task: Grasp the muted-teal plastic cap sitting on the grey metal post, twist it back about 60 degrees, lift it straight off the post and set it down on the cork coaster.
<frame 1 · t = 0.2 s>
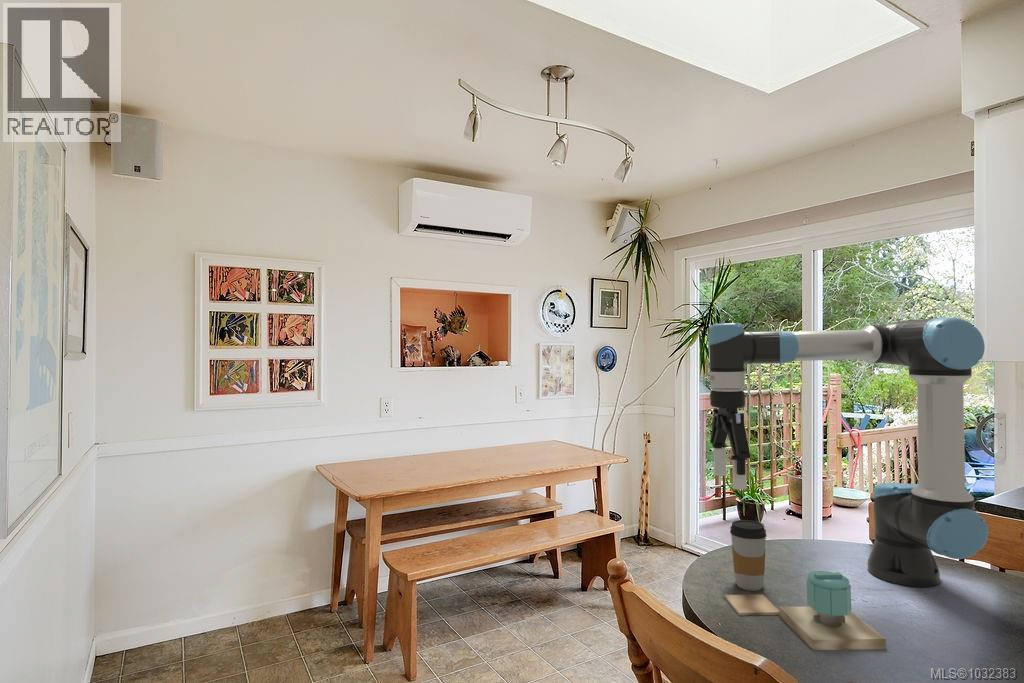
hand: (729, 481, 131), 28 cm above the table, fingers open, 13 cm apart
coaster: (751, 605, 128), on the table
coffee cup: (749, 586, 139), on the table
post base: (829, 631, 116), on the table
cap: (828, 607, 116), point 5 cm above the table, touching post base
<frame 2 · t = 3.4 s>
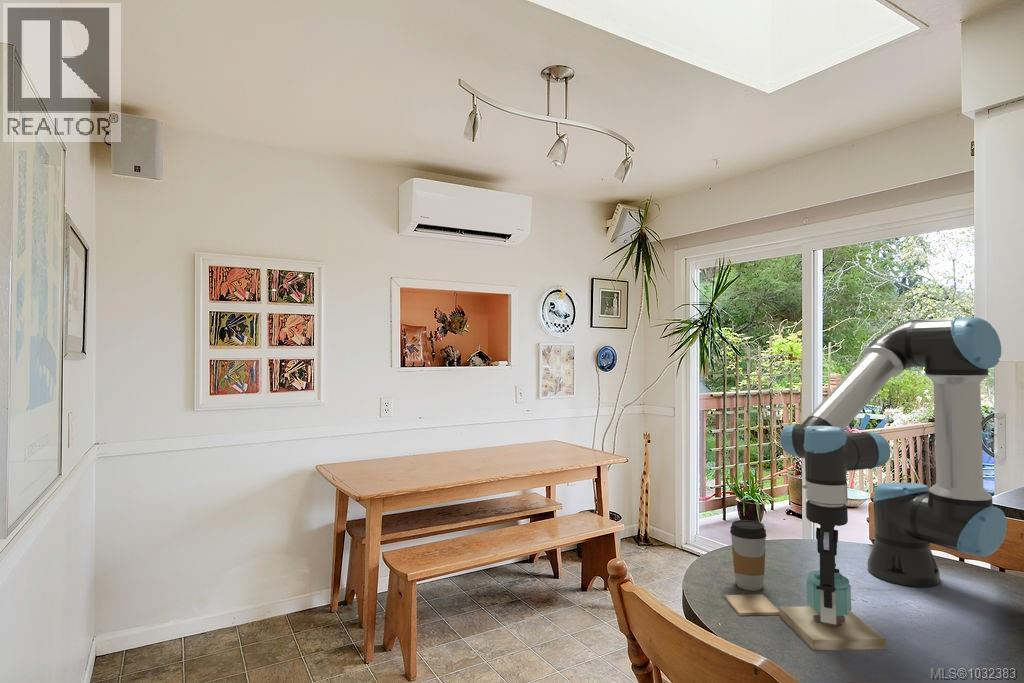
hand: (829, 613, 116), 4 cm above the table, fingers closed on cap, 8 cm apart
cap: (828, 607, 116), point 5 cm above the table, touching gripper, post base
everything else where it was.
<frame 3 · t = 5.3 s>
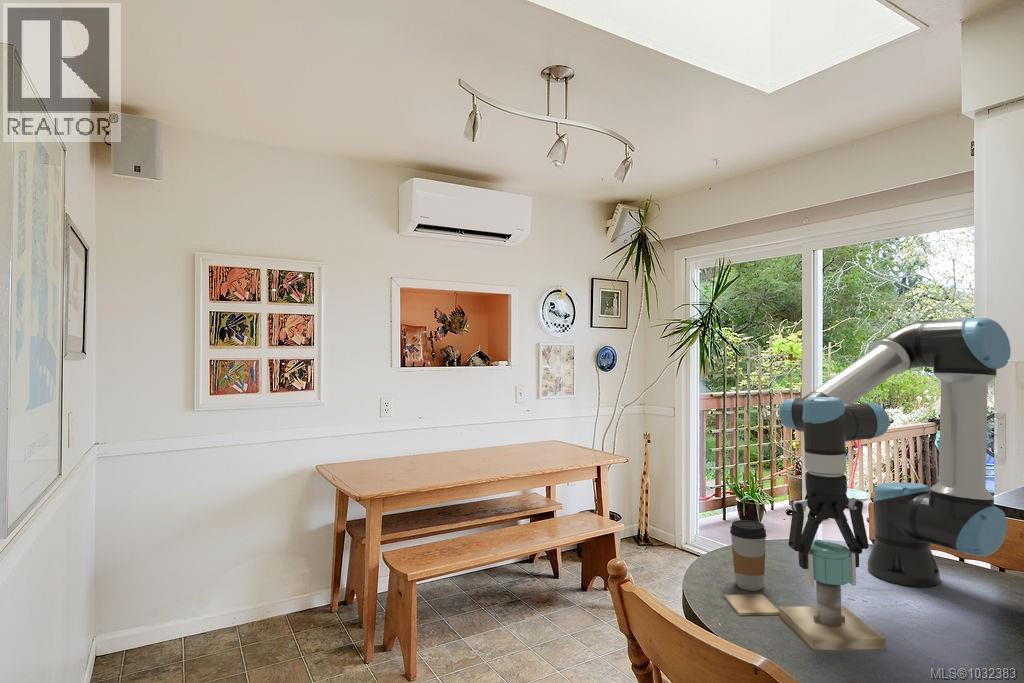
hand: (829, 583, 117), 10 cm above the table, fingers closed on cap, 8 cm apart
cap: (829, 577, 117), point 11 cm above the table, touching gripper
everything else where it was.
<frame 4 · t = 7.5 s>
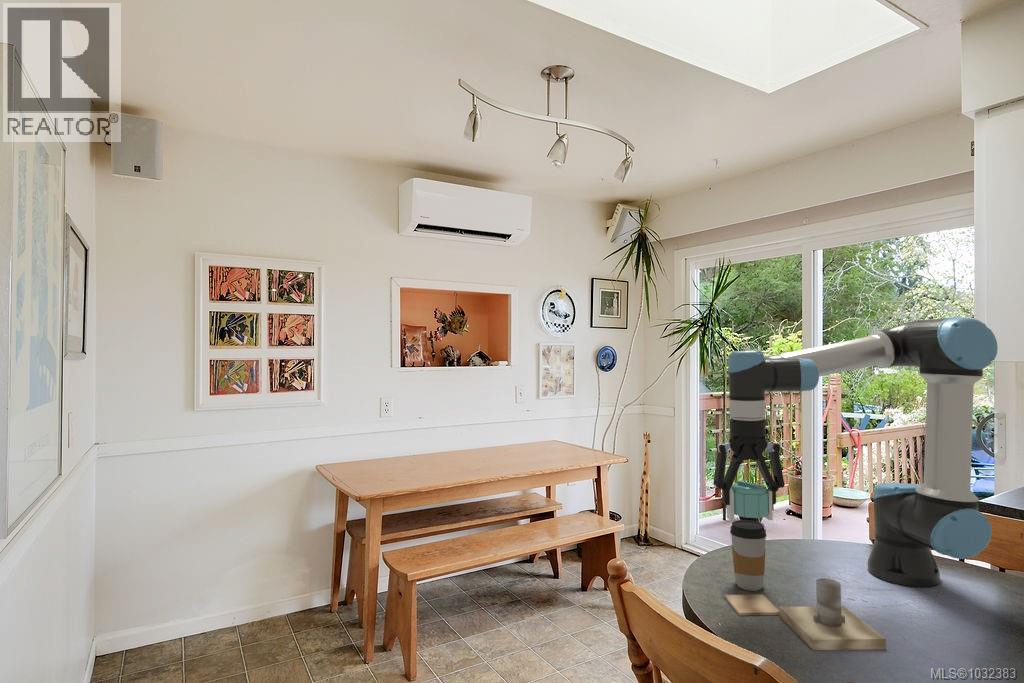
hand: (749, 518, 129), 20 cm above the table, fingers closed on cap, 8 cm apart
cap: (749, 513, 129), point 21 cm above the table, touching gripper
everything else where it was.
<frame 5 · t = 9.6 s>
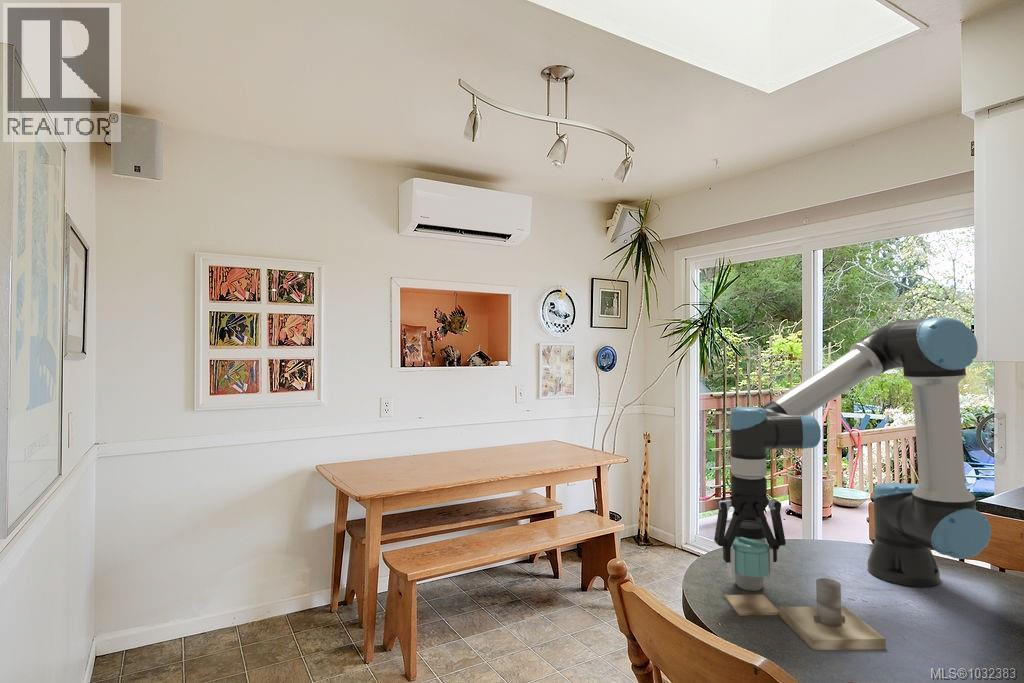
hand: (750, 576, 128), 7 cm above the table, fingers closed on cap, 8 cm apart
cap: (750, 570, 128), point 8 cm above the table, touching gripper
everything else where it was.
when the fingers open (2 cm above the table, at t = 11.5 s): cap drops 3 cm, resting on coaster.
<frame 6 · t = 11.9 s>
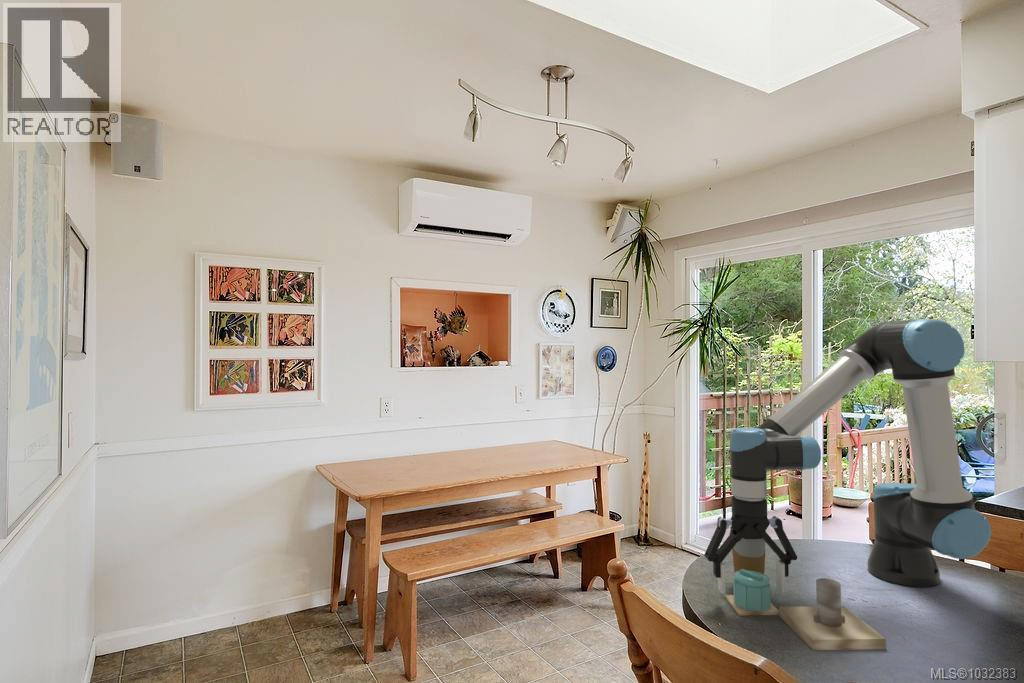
hand: (751, 591, 128), 3 cm above the table, fingers open, 13 cm apart
cap: (751, 603, 128), point 1 cm above the table, touching coaster
everything else where it was.
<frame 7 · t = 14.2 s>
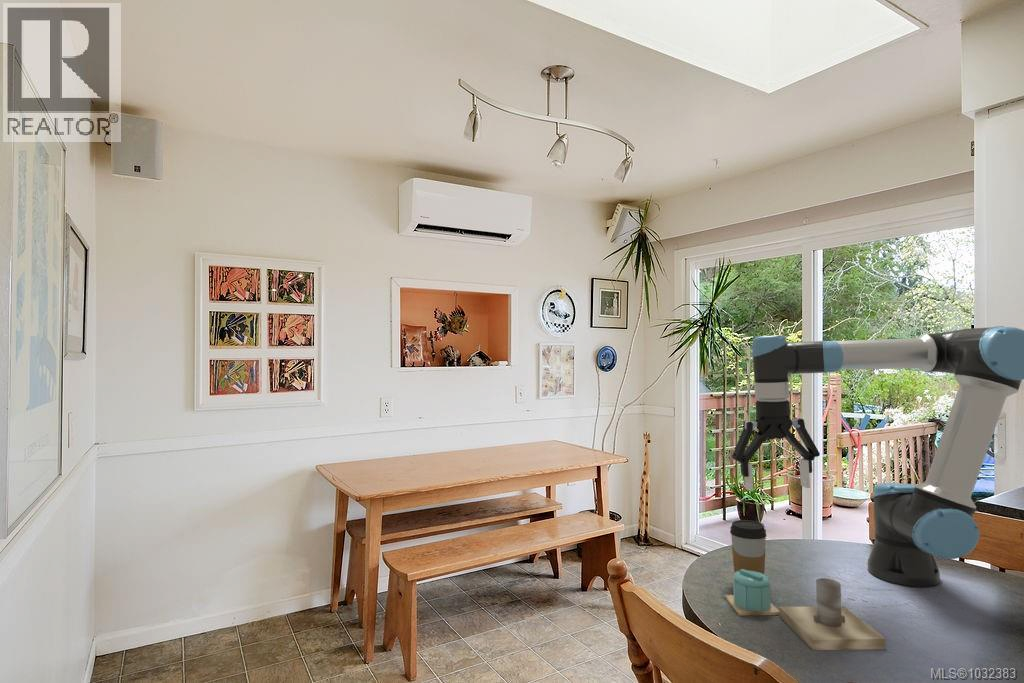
hand: (777, 488, 136), 25 cm above the table, fingers open, 13 cm apart
nothing on the table moved.
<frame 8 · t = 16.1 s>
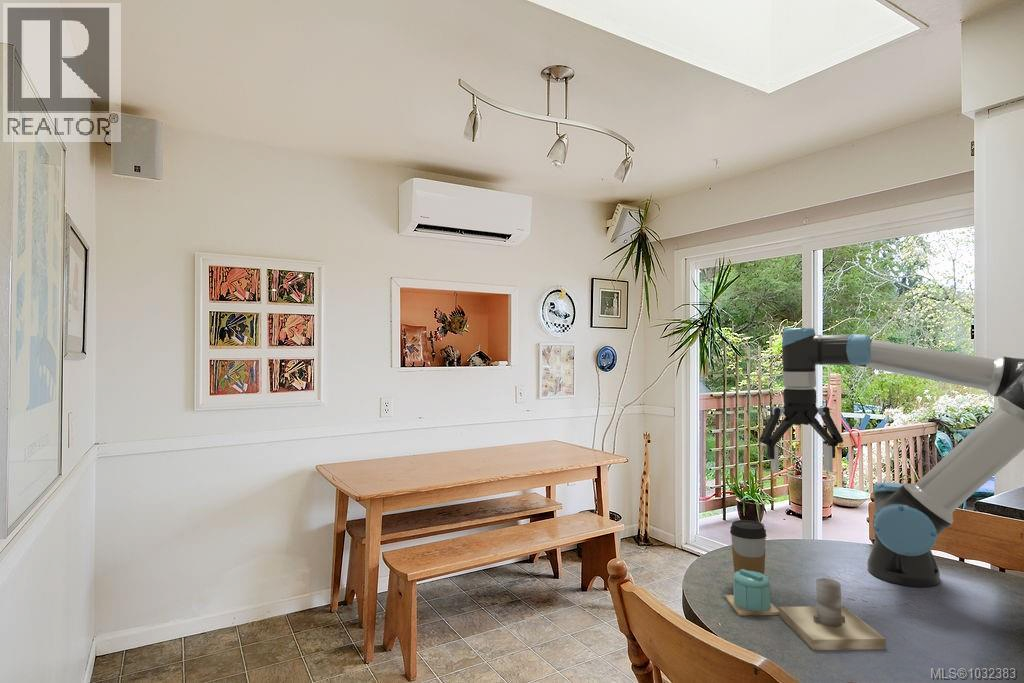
hand: (801, 471, 145), 27 cm above the table, fingers open, 13 cm apart
nothing on the table moved.
at the end: cap inside the target area on the coaster (0.0 cm from its centre), point 0.6 cm above the coaster's base; cap tilted 0°; the gripper is holding nothing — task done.
